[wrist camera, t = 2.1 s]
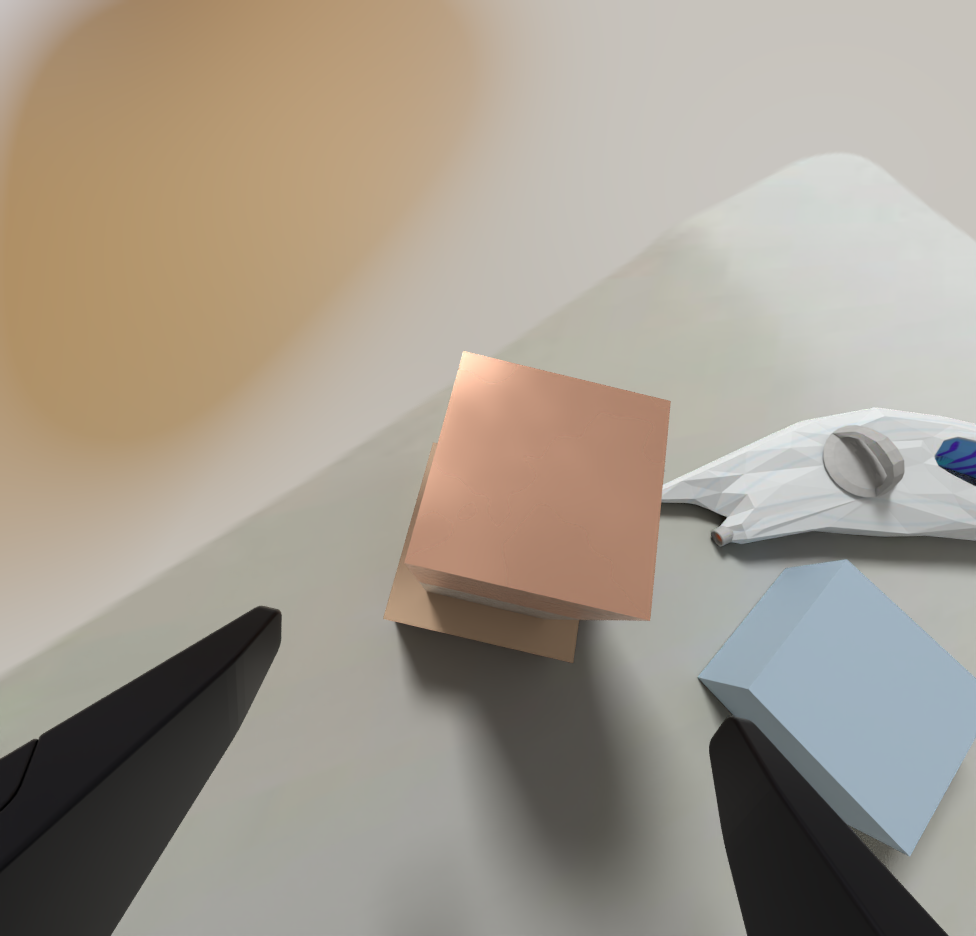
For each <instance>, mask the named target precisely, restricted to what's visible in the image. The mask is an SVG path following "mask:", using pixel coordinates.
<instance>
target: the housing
mask: <svg viewBox="0 0 976 936" xmlns="http://www.w3.org/2000/svg"><path fill="white" fill-rule="evenodd" d="M670 403H671V401H668V400H664V399H660V398H656V397H651V396H647V395H643V394H639V393H635V392H631V391H627V390H622V389H618V388H614V387H610V386H606V385H602V384H598V383H593V382H589V381H585V380H581V379H577V378H573V377H569V376H564V375H560V374H556V373H552V372H548V371H544V370H540V369H535V368H531V367H527V366H523V365H519V364H515V363H511V362H507V361H502V360H498V359H494V358H490V357H486V356H481V355H478V354H473V353H469V352H465V351H464V352H463V355H462V359H461V362H460V365H459V369H458V373H457V376H456V380H455V383H454V387H453V390H452V394H451V398H450V401H449V405H448V408H447V412H446V415H445V419H444V423H443V426H442V430H441V433H440V437H439V441H438V444H437V448H436V451H435V455H434V458H433V462H432V466H431V469H430V473H429V476H428V480H427V483H426V487H425V491H424V494H423V498H422V501H421V505H420V508H419V512H418V516H417V519H416V523H415V526H414V530H413V533H412V537H411V541H410V544H409V548H408V551H407V555H406V558H405V562H404V563H405V564H406V566H407V567H408V568H409V570H410V571H411V572H412V573H413V575H414V576H415V577H416V579H417V580H418V581H419V583H420V584H421V585H422V586H423V588H424V589H425V590H426V591H427V592H431V593H435V594H439V595H444V596H448V597H452V598H456V599H461V600H465V601H469V602H473V603H478V604H482V605H486V606H490V607H495V608H499V609H503V610H507V611H512V612H516V613H520V614H525V615H529V616H533V617H537V618H542V619H554V620H638V621H650V616H651V605H652V595H653V584H654V573H655V563H656V552H657V541H658V531H659V520H660V509H661V499H662V488H663V477H664V467H665V456H666V445H667V435H668V424H669V413H670Z"/></svg>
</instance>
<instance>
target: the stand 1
mask: <svg viewBox="0 0 976 936" xmlns="http://www.w3.org/2000/svg"><path fill="white" fill-rule="evenodd" d="M437 444H438V443H433V445H432V448H431V452H430V455H429V459H428V462H427V466H426V470H425V473H424V477H423V480H422V484H421V487H420V491H419V494H418V498H417V501H416V505H415V508H414V512H413V515H412V519H411V522H410V526H409V529H408V533H407V536H406V540H405V544H404V547H403V551H402V554H401V558H400V561H399V565H398V568H397V572H396V575H395V579H394V582H393V586H392V589H391V593H390V596H389V600H388V603H387V607H386V610H385V614H384V618H383V619H386V620H391V621H395V622H399V623H403V624H408V625H412V626H416V627H421V628H425V629H429V630H433V631H438V632H442V633H446V634H451V635H455V636H459V637H463V638H468V639H472V640H476V641H480V642H485V643H489V644H493V645H498V646H502V647H506V648H510V649H515V650H519V651H523V652H527V653H532V654H536V655H540V656H545V657H549V658H553V659H557V660H562V661H566V662H570V663H573V660H574V653H575V646H576V639H577V633H578V626H579V620H554V619H542V618H537V617H533V616H529V615H525V614H520V613H516V612H512V611H507V610H503V609H499V608H495V607H490V606H486V605H482V604H478V603H473V602H469V601H465V600H461V599H456V598H452V597H448V596H444V595H439V594H435V593H431V592H427V591H426V590H425V589H424V588H423V586H422V585H421V584H420V583H419V581H418V580H417V579H416V577H415V576H414V575H413V573H412V572H411V571H410V570H409V568H408V567H407V566H406V564H405V563H404V562H405V558H406V555H407V551H408V548H409V544H410V541H411V537H412V533H413V530H414V526H415V523H416V519H417V516H418V512H419V508H420V505H421V501H422V498H423V494H424V491H425V487H426V483H427V480H428V476H429V473H430V469H431V466H432V462H433V458H434V455H435V451H436V448H437Z"/></svg>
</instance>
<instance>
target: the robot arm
mask: <svg viewBox="0 0 976 936" xmlns="http://www.w3.org/2000/svg"><path fill="white" fill-rule="evenodd" d="M281 621H282V615H281V612H280V610H278V609H275V608H270V607H266V606H258V607H256V608H254V609H252V610H251V611H249V612H247V613H245V614H244V615H242V616H240V617H239V618H237V619H235V620H234V621H232V622H230V623H229V624H227V625H225V626H224V627H222V628H220V629H219V630H217V631H215V632H213V633H212V634H210V635H208V636H207V637H205V638H203V639H202V640H200V641H198V642H197V643H195V644H193V645H192V646H190V647H188V648H187V649H185V650H183V651H181V652H180V653H178V654H176V655H175V656H173V657H171V658H170V659H168V660H166V661H165V662H163V663H161V664H160V665H158V666H156V667H155V668H153V669H151V670H149V671H148V672H146V673H144V674H143V675H141V676H139V677H138V678H136V679H134V680H133V681H131V682H129V683H128V684H126V685H124V686H122V687H121V688H119V689H117V690H116V691H114V692H112V693H111V694H109V695H107V696H106V697H104V698H102V699H101V700H99V701H97V702H96V703H94V704H92V705H90V706H89V707H87V708H85V709H84V710H82V711H80V712H79V713H77V714H75V715H74V716H72V717H70V718H69V719H67V720H65V721H64V722H62V723H60V724H58V725H57V726H55V727H53V728H52V729H50V730H48V731H47V732H45V733H43V734H42V735H41V736H40V737H39V739H33V740H31V741H30V742H28V743H26V744H24V745H23V746H21V747H19V748H18V749H16V750H14V751H13V752H11V753H9V754H8V755H6V756H4V757H3V758H1V759H0V936H111V934H112V933H113V931H114V930H115V928H116V926H117V925H118V923H119V922H120V920H121V918H122V917H123V915H124V914H125V912H126V910H127V909H128V907H129V906H130V904H131V902H132V901H133V899H134V897H135V896H136V894H137V893H138V891H139V889H140V888H141V886H142V885H143V883H144V881H145V880H146V878H147V877H148V875H149V873H150V872H151V870H152V869H153V867H154V865H155V864H156V862H157V861H158V859H159V857H160V856H161V854H162V853H163V851H164V849H165V848H166V846H167V845H168V843H169V841H170V840H171V838H172V837H173V835H174V833H175V832H176V830H177V828H178V827H179V825H180V824H181V822H182V820H183V819H184V817H185V816H186V814H187V812H188V811H189V809H190V808H191V806H192V804H193V803H194V801H195V800H196V798H197V796H198V795H199V793H200V792H201V790H202V788H203V787H204V785H205V784H206V782H207V780H208V779H209V777H210V776H211V774H212V772H213V771H214V769H215V768H216V766H217V764H218V763H219V761H220V759H221V758H222V756H223V755H224V753H225V751H226V750H227V748H228V747H229V745H230V743H231V742H232V740H233V738H234V737H235V735H236V733H237V732H238V730H239V728H240V726H241V724H242V722H243V720H244V718H245V716H246V714H247V712H248V710H249V708H250V706H251V704H252V702H253V700H254V698H255V696H256V694H257V692H258V690H259V688H260V686H261V684H262V682H263V680H264V678H265V676H266V674H267V672H268V670H269V668H270V666H271V664H272V662H273V660H274V658H275V656H276V654H277V652H278V649H279V647H280V643H281ZM709 754H710V761H711V767H712V773H713V779H714V786H715V792H716V798H717V804H718V811H719V817H720V823H721V829H722V834H723V839H724V844H725V848H726V853H727V857H728V861H729V865H730V869H731V873H732V877H733V881H734V885H735V889H736V893H737V897H738V901H739V905H740V909H741V913H742V917H743V921H744V925H745V929H746V933H747V936H948V935H947V933H946V932H945V931H944V930H943V929H942V928H941V927H940V926H939V925H938V924H937V923H936V921H935V920H934V919H933V918H932V917H931V916H930V915H929V914H928V913H927V912H926V910H925V909H924V908H923V907H922V906H921V905H920V904H919V903H918V902H917V901H916V900H915V898H914V897H913V896H912V895H911V894H910V893H909V892H908V891H907V890H906V889H905V888H904V886H903V885H902V884H901V883H900V882H899V881H898V880H897V879H896V878H895V877H894V875H893V874H892V873H891V872H890V871H889V870H888V869H887V868H886V867H885V866H884V865H883V863H882V862H881V861H880V860H879V859H878V858H877V857H876V856H875V855H874V854H873V852H872V851H871V850H870V849H869V848H868V847H867V846H866V845H865V844H864V843H863V842H862V840H861V839H860V838H859V837H858V836H857V835H856V834H855V833H854V832H853V831H852V830H851V828H850V827H849V826H848V825H847V824H846V823H845V822H844V821H843V820H842V819H841V817H840V816H839V815H838V814H837V813H836V812H835V811H834V810H833V809H832V808H831V807H830V805H829V804H828V803H827V802H826V801H825V800H824V799H823V798H822V797H821V796H820V794H819V793H818V792H817V791H816V790H815V789H814V788H813V787H812V786H811V785H810V784H809V782H808V781H807V780H806V779H805V778H804V777H803V776H802V775H801V774H800V773H799V772H798V770H797V769H796V768H795V767H794V766H793V765H792V764H791V763H790V762H789V761H788V759H787V758H786V757H785V756H784V755H783V754H782V753H781V752H780V751H779V750H778V749H777V747H776V746H775V745H774V744H773V743H772V742H771V741H770V740H769V739H768V738H767V736H766V735H765V734H764V733H763V732H762V731H761V730H760V729H759V728H758V727H757V726H756V725H755V724H754V723H753V722H752V721H750V720H748V719H744V718H740V717H736V716H729V717H727V718H726V719H725V720H724V722H723V723H722V724H721V726H720V727H719V729H718V730H717V731H716V733H715V734H714V736H713V737H712V739H711V741H710V745H709Z"/></svg>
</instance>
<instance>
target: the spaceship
mask: <svg viewBox="0 0 976 936" xmlns="http://www.w3.org/2000/svg"><path fill="white" fill-rule="evenodd" d="M939 466H941V467H944V468H947V469H950V470H953V471H956V472H958V473H962V474H966V475H968V476H971V477H973V478H976V424H975V423H970V422H966V421H961V420H957V419H953V418H948V417H944V416H937V415H929V414H922V413H914V412H907V411H899V410H892V409H884V408H877V407H874V408H869V409H863V410H858V411H853V412H847V413H842V414H836V415H831V416H825V417H820V418H815V419H809V420H804V421H800V422H797V423H795V424H793V425H791V426H788V427H786V428H784V429H782V430H779V431H777V432H775V433H773V434H771V435H768V436H766V437H764V438H762V439H760V440H758V441H756V442H753V443H751V444H749V445H747V446H745V447H743V448H741V449H739V450H736V451H734V452H732V453H730V454H728V455H726V456H724V457H721V458H719V459H717V460H715V461H713V462H711V463H709V464H707V465H704V466H702V467H700V468H698V469H696V470H694V471H692V472H689V473H687V474H685V475H683V476H681V477H679V478H677V479H675V480H672V481H670V482H668V483H666V484H664V485H663V488H662V499H661V502H663V503H691V504H696V505H699V506H701V507H704V508H706V509H709V510H711V511H714V512H716V513H719V514H721V515H723V516H726V517H727V519H726V520H725V521H724V522H723V523H722V524H721V526H720V527H718V528H716V529H714V530H712V531H711V537H712V539H713V540H714V542H715V543H716V544H717V545H719V546H724V545H726V544H728V543H730V542H734V543H740V544H744V543H750V542H755V541H760V540H766V539H771V538H777V537H782V536H788V535H793V534H799V533H804V532H810V531H819V532H829V533H839V534H852V535H867V536H881V537H888V536H934V537H944V538H954V539H965V540H975V541H976V486H974V485H972V484H970V483H968V482H966V481H964V480H962V479H960V478H958V477H956V476H954V475H952V474H950V473H949V472H947V471H946V470H944V469H943V468H941V467H939Z"/></svg>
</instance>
